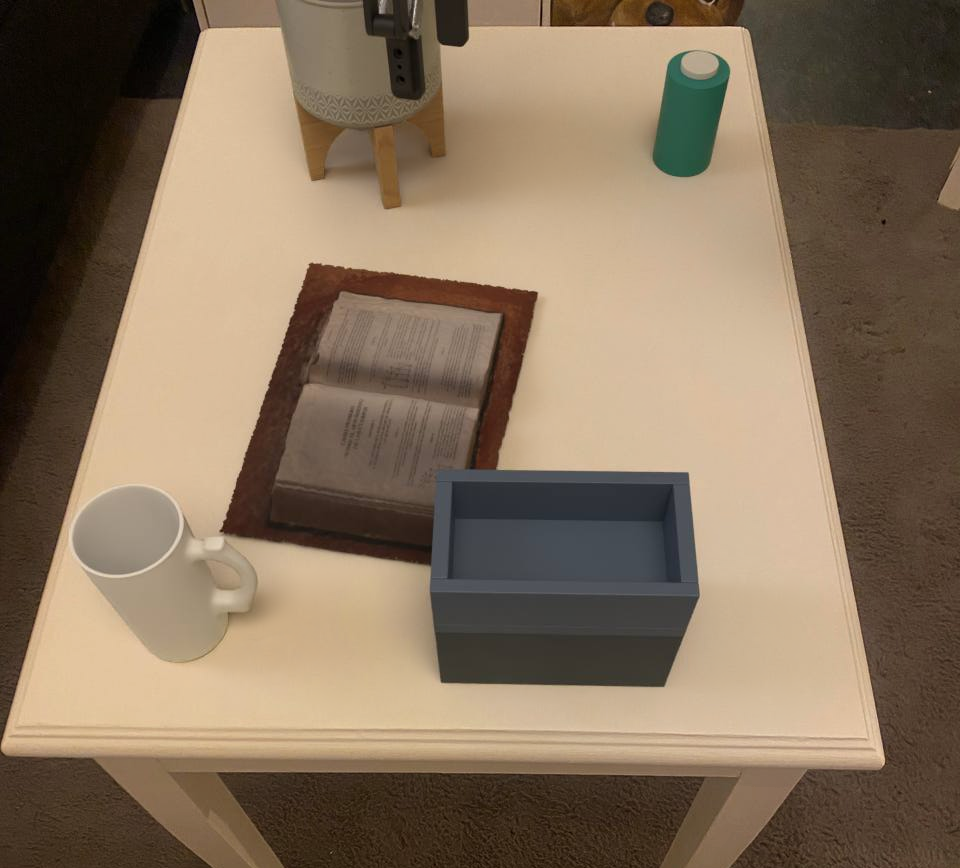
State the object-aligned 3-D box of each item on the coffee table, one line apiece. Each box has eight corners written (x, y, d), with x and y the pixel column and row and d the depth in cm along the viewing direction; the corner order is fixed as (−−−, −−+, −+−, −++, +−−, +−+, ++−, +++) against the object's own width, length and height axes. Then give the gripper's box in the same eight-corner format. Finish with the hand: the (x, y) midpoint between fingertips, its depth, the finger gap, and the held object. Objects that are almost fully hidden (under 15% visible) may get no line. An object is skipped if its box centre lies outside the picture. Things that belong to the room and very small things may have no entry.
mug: (127, 664, 65) (55, 575, 54) (147, 581, 68) (83, 481, 58) (271, 670, 65) (227, 581, 54) (285, 585, 68) (246, 486, 57)
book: (219, 539, 70) (206, 506, 66) (310, 267, 82) (303, 225, 78) (484, 584, 69) (487, 553, 65) (536, 303, 81) (542, 263, 77)
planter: (297, 133, 91) (255, -76, 75) (427, 108, 92) (413, -101, 76) (323, 221, 85) (283, 16, 69) (461, 194, 87) (453, -13, 71)
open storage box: (657, 578, 68) (688, 471, 57) (664, 687, 64) (700, 596, 53) (446, 575, 68) (436, 468, 57) (440, 683, 64) (429, 591, 53)
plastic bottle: (699, 135, 90) (719, 38, 82) (718, 171, 88) (741, 76, 80) (645, 143, 89) (660, 47, 81) (662, 180, 87) (679, 85, 79)
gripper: (424, -209, 47) (446, 124, 60) (512, -275, 55) (515, 32, 68) (291, -215, 49) (340, 110, 62) (395, -278, 57) (419, 22, 70)
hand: (432, 69), depth 65 cm, fingers open, 8 cm apart
